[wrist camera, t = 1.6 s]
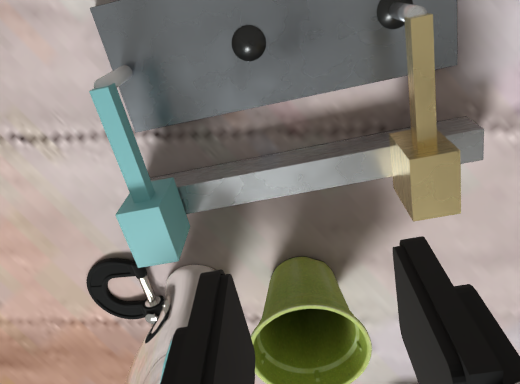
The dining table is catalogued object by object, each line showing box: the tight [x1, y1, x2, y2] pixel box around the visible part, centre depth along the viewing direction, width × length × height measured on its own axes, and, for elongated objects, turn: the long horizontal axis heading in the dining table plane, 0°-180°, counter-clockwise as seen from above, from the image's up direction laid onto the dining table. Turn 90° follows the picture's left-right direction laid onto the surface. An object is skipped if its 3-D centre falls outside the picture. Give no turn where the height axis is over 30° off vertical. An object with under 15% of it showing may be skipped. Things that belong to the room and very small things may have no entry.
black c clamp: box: [87, 258, 164, 326], centre depth 41 cm, size 15×7×2 cm, turn 12°
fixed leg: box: [389, 2, 461, 221], centre depth 27 cm, size 3×13×6 cm, turn 12°
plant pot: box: [251, 257, 372, 384], centre depth 36 cm, size 9×9×9 cm
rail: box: [150, 116, 484, 214], centre depth 33 cm, size 26×2×3 cm, turn 102°
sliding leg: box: [89, 65, 190, 268], centre depth 29 cm, size 3×13×6 cm, turn 12°
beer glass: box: [125, 265, 216, 384], centre depth 34 cm, size 7×7×15 cm
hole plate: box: [90, 0, 457, 132], centre depth 29 cm, size 24×9×1 cm, turn 102°
